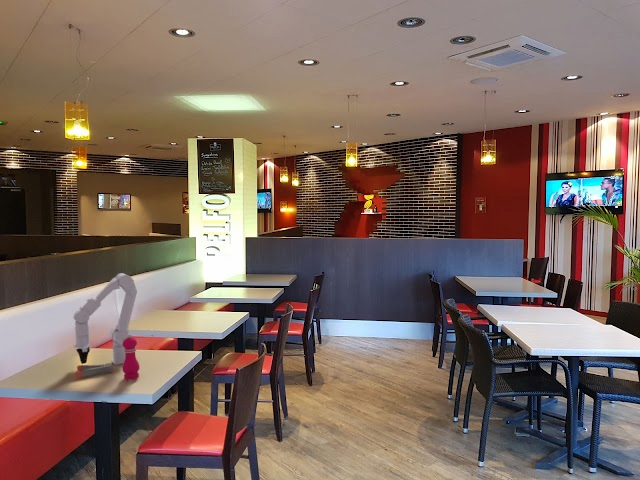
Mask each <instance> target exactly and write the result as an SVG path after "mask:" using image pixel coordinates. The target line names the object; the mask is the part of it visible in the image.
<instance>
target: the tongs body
mask: <svg viewBox="0 0 640 480" xmlns="http://www.w3.org/2000/svg"><path fill="white" fill-rule="evenodd" d="M112 363H113V362H112ZM112 363H111V362H109V363H108V362H107V363H105V364H104V366H102V367H96V368H91V369H85V370H80V371H77V370H75V379H76V380H82V379H86V378H92V377H97V376H102V375H108V374H112V373H113V364H112Z"/></svg>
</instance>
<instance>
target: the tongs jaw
mask: <svg viewBox="0 0 640 480" xmlns="http://www.w3.org/2000/svg"><path fill="white" fill-rule="evenodd" d="M102 366H105V364H81V365H77V366H76V368H77V369H76V371H80V370H85V369H91V368H96V367H102Z"/></svg>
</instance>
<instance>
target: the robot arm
mask: <svg viewBox="0 0 640 480" xmlns="http://www.w3.org/2000/svg"><path fill="white" fill-rule="evenodd" d="M120 289H122V290H123V291H124V294H125V295H124V299H123V303H122V306H121V311H120V313H119V318H118V322H117V325H116V326H115V328H114V331H113V332H112V334H111V339H112V341H113V343H112V352H113V353H112V356H113V357H112V358H113V359H112V360H111V362H112V363H113V364H112V365H114V366H116V365H117V366H118V365H121V364H122V365H123V364H124V361H125V352H124V349H125V348H124V347H123V341H124V339H126V338H128V337H127V335H128V334H129V331H130V330H129V325H130V321H131V317H132V313H133V310H134V305H135V302H136V297H137V293H138V292H137V291H138V289H137V288H136V285H135V280H134V279H133V278H132V277H131V276H130V275H128V274H125V273H122V272H121V273H118V274H116V275H115V277H113V278H112V279H111V280H110V281H109V282H108V283H107V284H106V286H104V288H103V289H101V291H100V292H99V293H97V295H96V296H95V297H91V298H88V299H87V300H86V303H84V305H83V306H82V307H80V308H79V310H76V312H75V313H74V314H73V320H74V321H75V323H74V324H75V325H74V330H75V344H74V345H73V348H74V349H75V348H76V349H75V351H76V352H77V354H78V356H79V361H80V363H81V365H85V364H87V361H88V356H89V352H90V350H91V348H90V346H91V344H90V330H89V321H90V316H92V315H93V314H94V313H95V312H96V311H97V310H98V309H99V308H100V307H101V306H102V305H101V304H102V301H103V300H104V299H105V298H107V297H108V296H109V295H110V294H112V292H113V291H115V290H120Z"/></svg>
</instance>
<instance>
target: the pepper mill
mask: <svg viewBox="0 0 640 480" xmlns="http://www.w3.org/2000/svg"><path fill="white" fill-rule="evenodd" d="M127 337H128V338H126V339H124V341H123V347H124V348H125V349H124V352H125V361H124V363H123V364H122V372H123V373H124V375H123V379H124V380H125V381H134V380H136V379H138V378H139V377H140V373H139V371H140V363H139V362H138V361H139V360H138V359H137V357H136V356H137V355H136V352H137V345H138V341H137V339H136V338H135V337H132V334H131V333H128V335H127Z"/></svg>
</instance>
